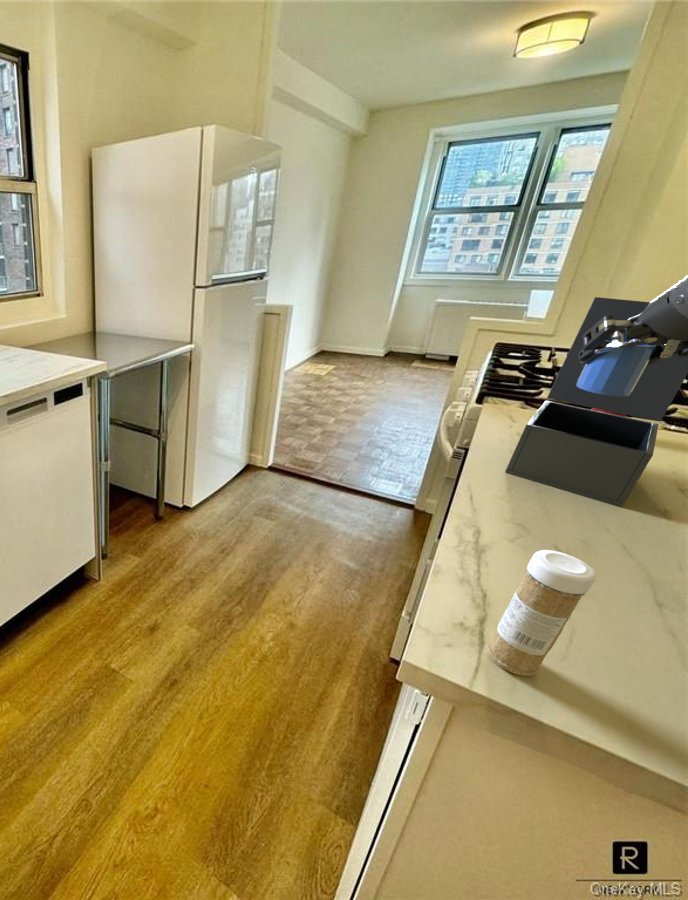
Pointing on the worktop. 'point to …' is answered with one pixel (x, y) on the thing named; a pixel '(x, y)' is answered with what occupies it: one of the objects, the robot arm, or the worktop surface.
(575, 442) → the grey storage bin
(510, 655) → the sprinkles bottle
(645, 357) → the cup
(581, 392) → the door
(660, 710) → the worktop surface
